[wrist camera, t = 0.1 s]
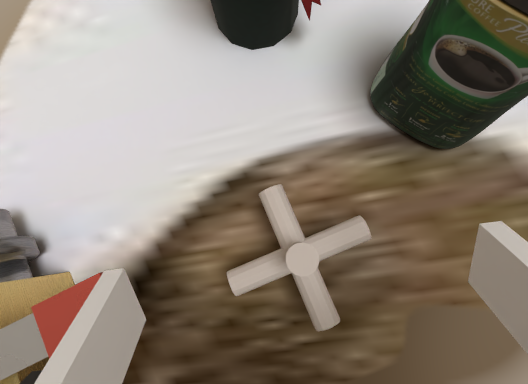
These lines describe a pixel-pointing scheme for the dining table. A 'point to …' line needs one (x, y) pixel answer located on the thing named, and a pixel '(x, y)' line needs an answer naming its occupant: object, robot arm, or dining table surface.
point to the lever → (41, 328)
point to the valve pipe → (22, 284)
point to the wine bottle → (257, 20)
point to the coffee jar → (455, 70)
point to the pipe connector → (299, 257)
